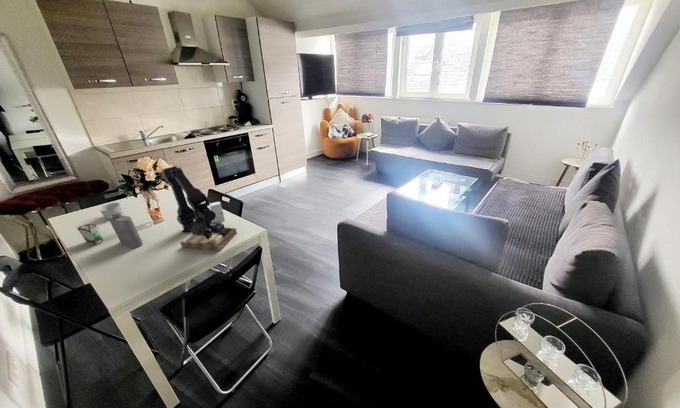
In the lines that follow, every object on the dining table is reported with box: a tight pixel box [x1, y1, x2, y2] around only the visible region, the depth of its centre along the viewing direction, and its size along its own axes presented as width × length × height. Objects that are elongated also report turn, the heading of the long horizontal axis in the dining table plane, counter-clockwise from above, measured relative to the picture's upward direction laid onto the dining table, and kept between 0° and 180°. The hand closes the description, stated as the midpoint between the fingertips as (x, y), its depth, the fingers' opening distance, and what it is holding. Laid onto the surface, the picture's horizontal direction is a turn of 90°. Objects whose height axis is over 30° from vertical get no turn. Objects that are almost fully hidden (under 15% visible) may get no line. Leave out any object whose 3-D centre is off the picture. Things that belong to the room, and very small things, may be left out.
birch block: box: [208, 235, 223, 245], centre depth 143 cm, size 5×5×3 cm
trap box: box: [180, 226, 238, 252], centre depth 148 cm, size 23×17×4 cm
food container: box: [76, 223, 104, 246], centre depth 150 cm, size 12×6×10 cm, turn 71°
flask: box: [107, 212, 144, 249], centre depth 144 cm, size 15×6×20 cm, turn 66°
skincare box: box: [209, 201, 226, 224], centre depth 165 cm, size 6×4×12 cm
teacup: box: [99, 201, 124, 219], centre depth 176 cm, size 14×11×8 cm
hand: (209, 240), depth 144 cm, fingers closed
